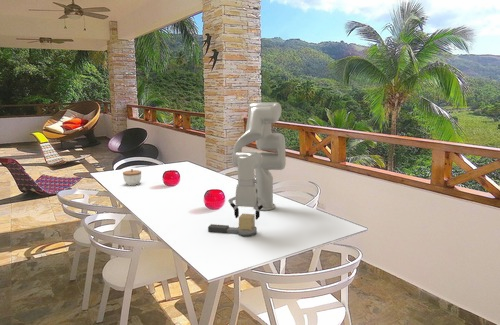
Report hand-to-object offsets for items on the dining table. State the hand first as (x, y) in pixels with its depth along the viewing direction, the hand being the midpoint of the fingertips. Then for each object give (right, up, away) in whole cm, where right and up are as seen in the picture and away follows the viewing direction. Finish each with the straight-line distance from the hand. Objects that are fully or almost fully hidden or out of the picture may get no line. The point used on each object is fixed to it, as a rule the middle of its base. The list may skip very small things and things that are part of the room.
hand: (247, 217), depth 186 cm
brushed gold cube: (0, -5, 0) cm, 5 cm away
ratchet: (-7, -7, +3) cm, 10 cm away
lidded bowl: (-83, +10, +102) cm, 132 cm away
